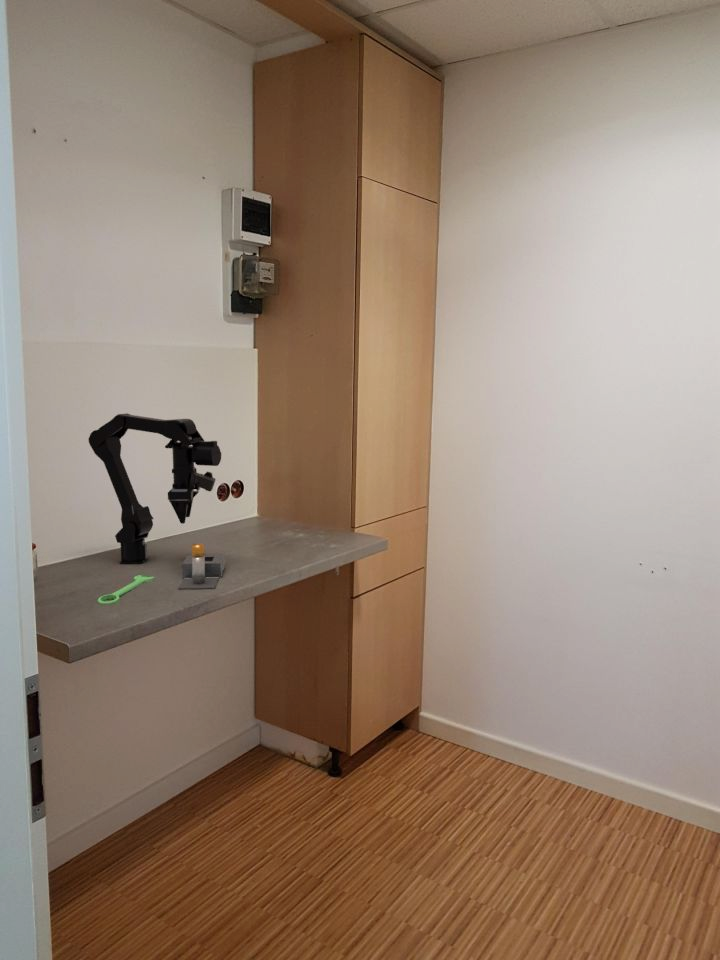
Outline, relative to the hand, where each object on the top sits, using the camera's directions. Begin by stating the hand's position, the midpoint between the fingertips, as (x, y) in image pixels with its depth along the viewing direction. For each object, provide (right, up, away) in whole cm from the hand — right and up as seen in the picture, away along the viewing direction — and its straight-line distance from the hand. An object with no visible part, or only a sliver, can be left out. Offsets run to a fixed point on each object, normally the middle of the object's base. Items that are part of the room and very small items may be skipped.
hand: (185, 520), depth 222 cm
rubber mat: (+7, -16, -17) cm, 25 cm away
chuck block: (+7, -14, -7) cm, 17 cm away
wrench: (-10, -17, -22) cm, 30 cm away
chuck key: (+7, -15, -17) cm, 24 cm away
